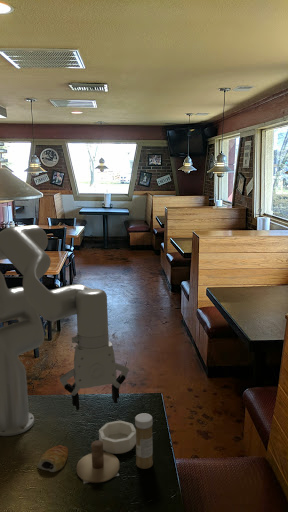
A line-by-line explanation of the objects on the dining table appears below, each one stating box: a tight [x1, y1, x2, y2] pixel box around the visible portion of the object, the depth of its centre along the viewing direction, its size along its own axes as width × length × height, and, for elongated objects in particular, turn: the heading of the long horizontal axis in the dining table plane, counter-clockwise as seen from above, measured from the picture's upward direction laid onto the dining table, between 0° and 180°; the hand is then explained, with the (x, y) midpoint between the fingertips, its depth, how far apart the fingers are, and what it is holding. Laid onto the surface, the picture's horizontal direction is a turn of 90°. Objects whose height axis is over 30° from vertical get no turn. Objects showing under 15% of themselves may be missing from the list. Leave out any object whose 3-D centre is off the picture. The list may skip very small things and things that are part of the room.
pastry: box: [36, 444, 69, 473], centre depth 111 cm, size 9×7×4 cm
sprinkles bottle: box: [134, 412, 154, 470], centre depth 108 cm, size 5×5×13 cm
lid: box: [76, 439, 120, 484], centre depth 107 cm, size 11×11×7 cm
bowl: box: [98, 420, 136, 455], centre depth 118 cm, size 10×10×4 cm
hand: (96, 404), depth 104 cm, fingers open, 9 cm apart
